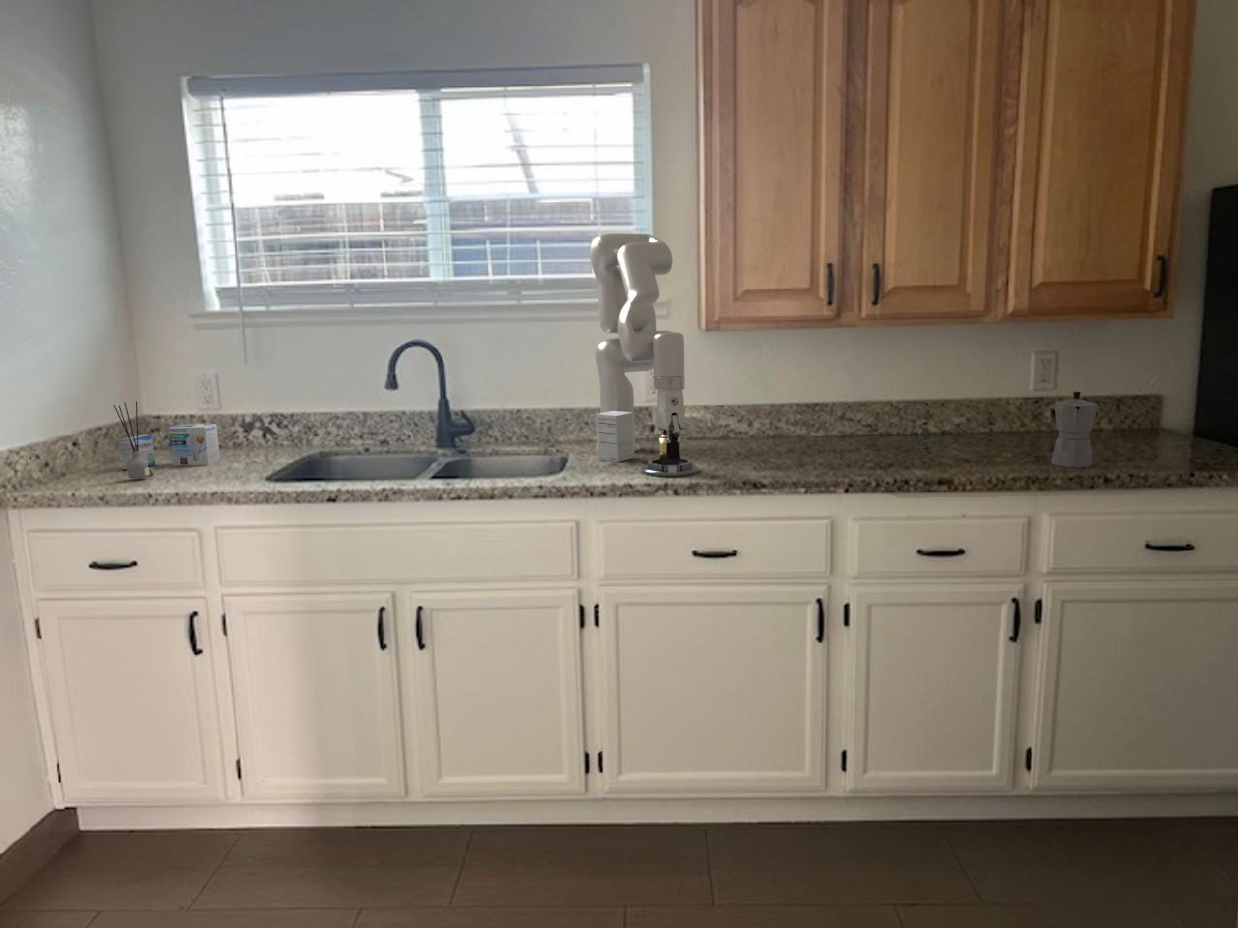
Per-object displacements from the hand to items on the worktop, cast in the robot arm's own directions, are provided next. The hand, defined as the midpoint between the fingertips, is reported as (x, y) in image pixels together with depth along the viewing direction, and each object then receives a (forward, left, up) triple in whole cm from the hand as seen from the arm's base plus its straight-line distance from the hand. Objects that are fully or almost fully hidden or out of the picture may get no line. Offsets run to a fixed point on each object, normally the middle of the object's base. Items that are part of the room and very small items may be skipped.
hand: (670, 455), depth 218 cm
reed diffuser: (-10, -136, -4) cm, 136 cm away
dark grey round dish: (0, 0, -4) cm, 4 cm away
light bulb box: (-31, -130, -4) cm, 134 cm away
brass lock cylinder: (0, 0, -1) cm, 1 cm away
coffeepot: (+4, +99, -4) cm, 99 cm away
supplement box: (-20, -13, -4) cm, 24 cm away
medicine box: (-27, -144, -4) cm, 147 cm away
